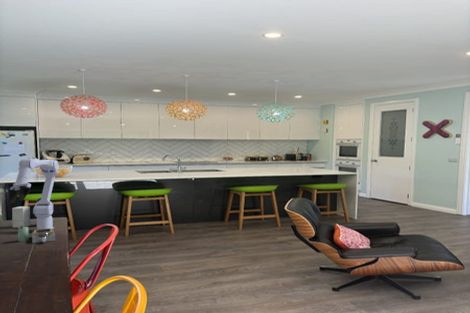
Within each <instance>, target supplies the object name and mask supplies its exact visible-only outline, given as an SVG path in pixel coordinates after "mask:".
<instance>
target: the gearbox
mask: <svg viewBox="0 0 470 313" xmlns="http://www.w3.org/2000/svg"><path fill="white" fill-rule="evenodd" d="M31 235H32V239H31V241H32V244H39V243H47V242H55V241H56V234H55V230H54V229H52V228H47V229H37V228H36V229H34V230H33V231H32V234H31Z"/></svg>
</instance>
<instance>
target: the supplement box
mask: <svg viewBox="0 0 470 313" xmlns="http://www.w3.org/2000/svg"><path fill="white" fill-rule="evenodd" d="M11 209H12V212H11V214H12V220H11V221H12V229H14V228H17V229H18V228H20V227H21V226H23V227H29V226H31V208H30V206H16V207H12V208H11Z"/></svg>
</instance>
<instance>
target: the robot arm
mask: <svg viewBox="0 0 470 313" xmlns="http://www.w3.org/2000/svg"><path fill="white" fill-rule="evenodd" d="M34 169H39V170H40V171H41V172H42V175H44V176H45V179H44V184H43V189H42V191H41V192H42V193H41V196H40V198H41V200H40V201H38V202H37V201H36V203H35V206H34V207H33V209H32V213H33V215H34V216H35V218H36V230H37V229H47V228H52V230H54V229H55V227H54V226H53V224H54V223H53V221H54V220H53V219H54V218H53V216H52V215H53V212H54V204H53V203H52V201H51V197H52V191H53V187H54V183H55V179H56V176H57V175H58V173H59V169H60V165H59V162H58V160H54V159H39V158H37V157H32V158H31V157H29V158H23V159H20V161H18V174H17V176H16V180H15V182H14V183H13V184H12V186H11V187H9V189H8V190H7V192H8V200H9V203H10V204H14V203H15V202H16V199H17V197H18V201H21V202H24V200H25V198H27V195H28V194H29V193H30V192H31V191H32V189H30V188H31V186H32V184H31V183H30V182H29V180H30V177H31V173H32V170H34Z"/></svg>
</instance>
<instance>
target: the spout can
mask: <svg viewBox="0 0 470 313" xmlns="http://www.w3.org/2000/svg"><path fill="white" fill-rule="evenodd" d="M29 239H30V238H29V226H27V227H23V226H21V227H20V228H17V242H20V243H21V242H28V241H29Z"/></svg>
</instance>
